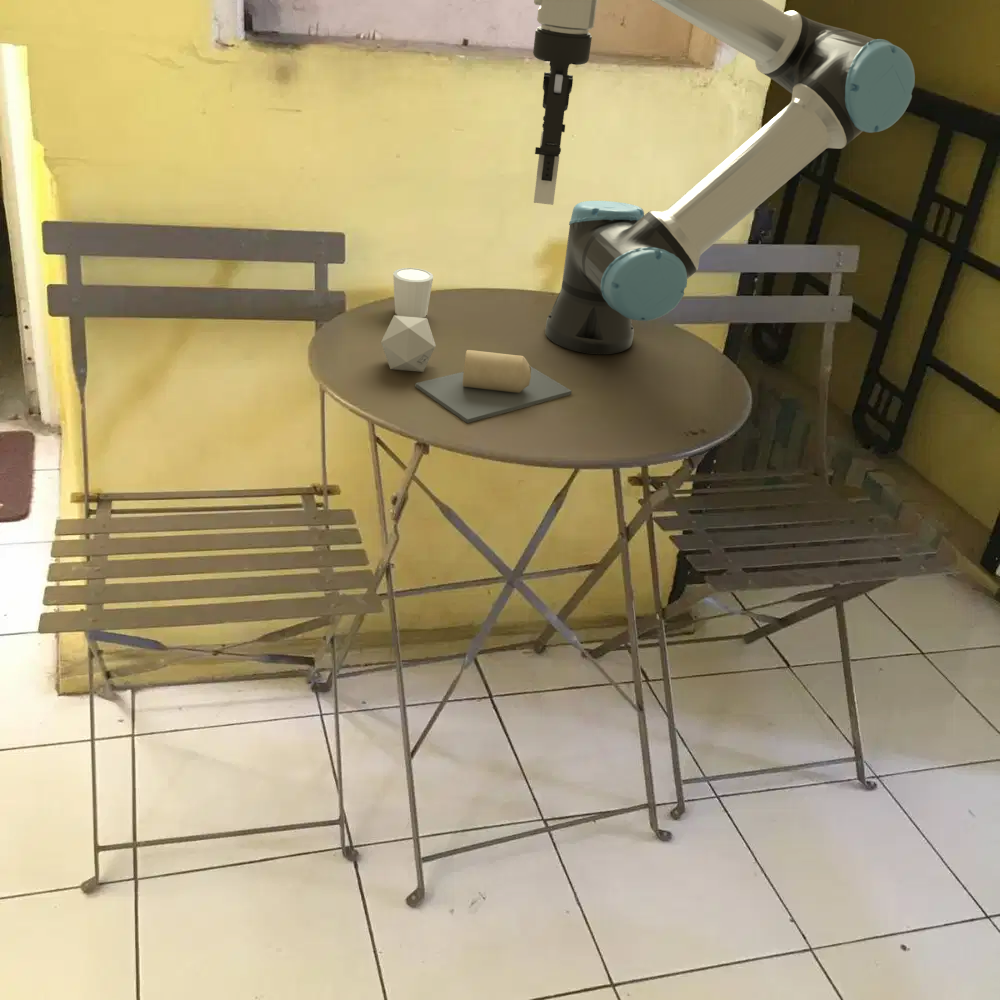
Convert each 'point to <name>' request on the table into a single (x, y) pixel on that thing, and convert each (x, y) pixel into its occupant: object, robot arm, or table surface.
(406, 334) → the die
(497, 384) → the candle
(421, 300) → the shot glass
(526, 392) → the mat
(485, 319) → the table surface
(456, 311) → the table surface
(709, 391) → the table surface
